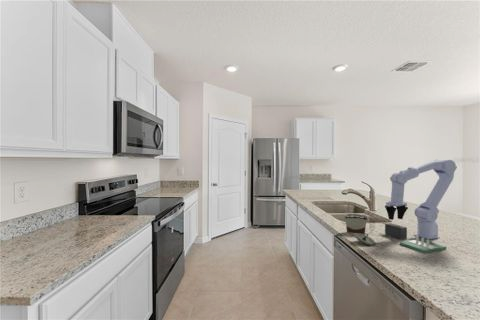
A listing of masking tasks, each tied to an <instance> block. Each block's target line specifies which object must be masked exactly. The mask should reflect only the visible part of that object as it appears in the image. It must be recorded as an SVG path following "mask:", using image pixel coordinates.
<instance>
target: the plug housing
mask: <svg viewBox="0 0 480 320" xmlns="http://www.w3.org/2000/svg"><path fill="white" fill-rule="evenodd" d="M382 224H383V225H384V230H385V231H384V234H385V235H387V236H389V237H391V238H392V237H393V238H395V239H399V240H405V239H406V240H407V238H408V228H407V227H406V226H404V225H403V226H402V225H399V224H395V223H391V222H389V223H388V222H382Z"/></svg>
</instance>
